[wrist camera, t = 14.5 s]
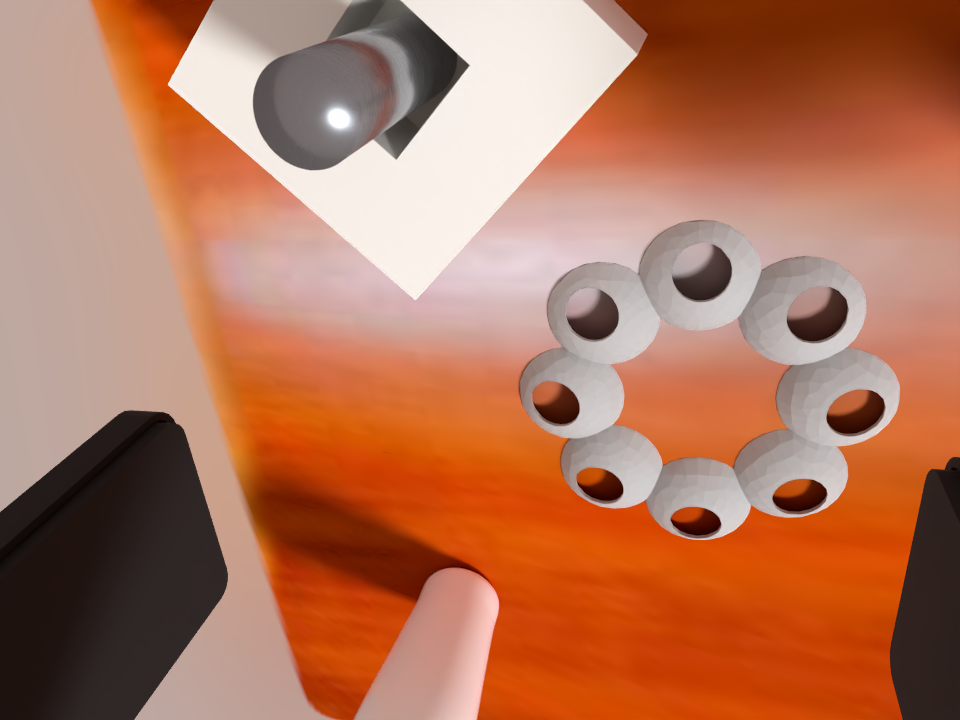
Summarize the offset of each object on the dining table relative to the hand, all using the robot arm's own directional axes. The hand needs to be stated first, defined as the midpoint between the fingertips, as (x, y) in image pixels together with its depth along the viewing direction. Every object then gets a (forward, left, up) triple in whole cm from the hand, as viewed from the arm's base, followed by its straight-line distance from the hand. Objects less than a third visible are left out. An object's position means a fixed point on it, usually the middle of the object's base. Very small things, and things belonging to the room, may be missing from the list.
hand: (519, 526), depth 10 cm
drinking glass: (+31, +14, -31) cm, 46 cm away
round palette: (+9, +13, -31) cm, 35 cm away
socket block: (+5, -9, -30) cm, 32 cm away
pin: (+5, -9, -28) cm, 30 cm away
